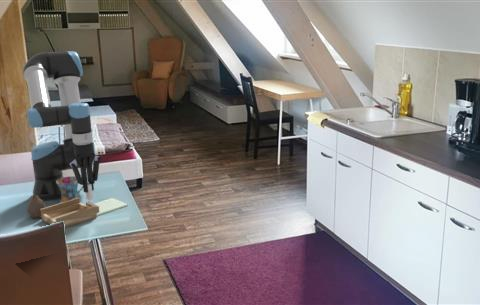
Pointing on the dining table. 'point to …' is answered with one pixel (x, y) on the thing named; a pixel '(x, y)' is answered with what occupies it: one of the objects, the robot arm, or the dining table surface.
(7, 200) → the dining table surface
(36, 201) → the vase
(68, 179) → the mug
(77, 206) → the box
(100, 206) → the lid
